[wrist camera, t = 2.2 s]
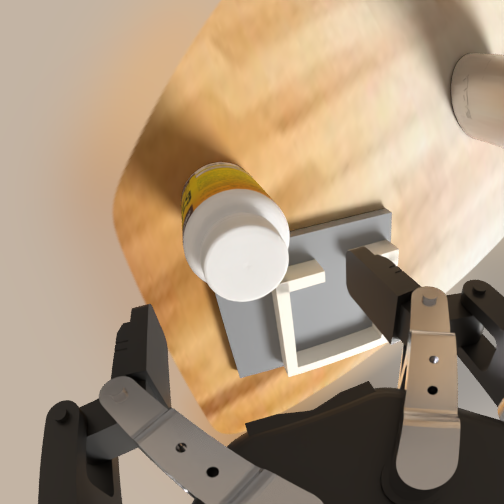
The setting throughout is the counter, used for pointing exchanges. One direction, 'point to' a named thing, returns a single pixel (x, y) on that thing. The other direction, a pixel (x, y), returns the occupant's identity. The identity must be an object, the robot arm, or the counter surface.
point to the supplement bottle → (233, 233)
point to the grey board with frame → (310, 302)
